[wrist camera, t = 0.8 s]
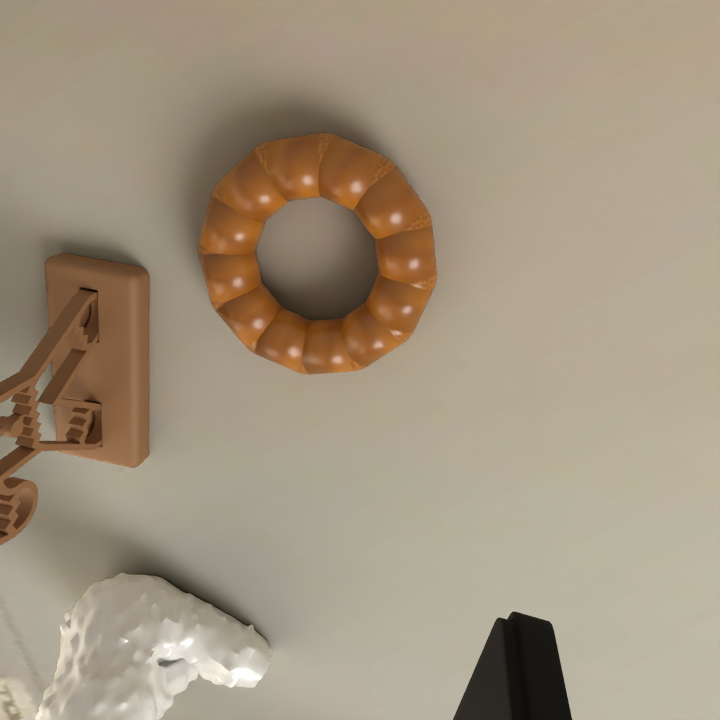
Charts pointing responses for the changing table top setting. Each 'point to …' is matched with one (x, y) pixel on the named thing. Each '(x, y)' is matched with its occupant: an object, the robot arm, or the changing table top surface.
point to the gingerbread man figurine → (81, 377)
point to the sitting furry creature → (145, 651)
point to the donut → (345, 187)
